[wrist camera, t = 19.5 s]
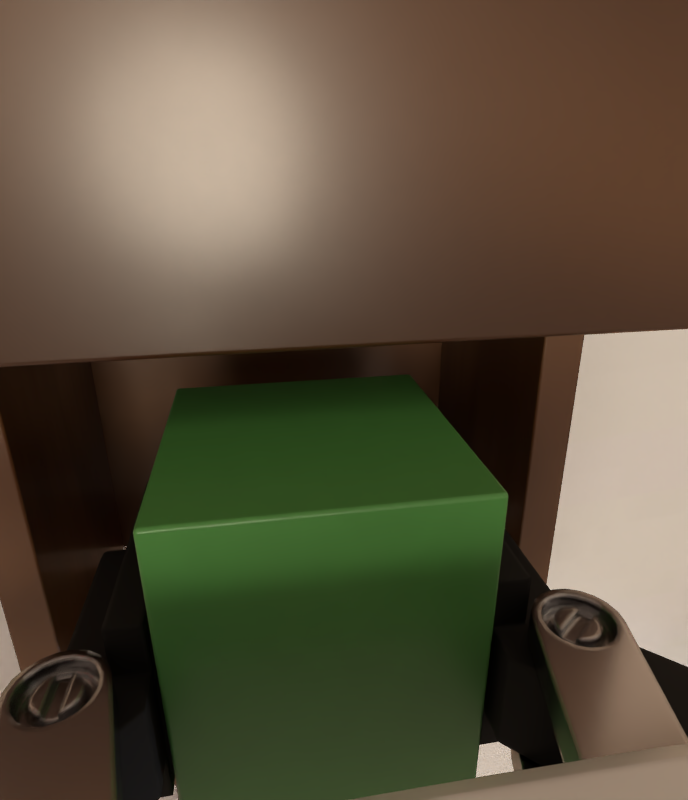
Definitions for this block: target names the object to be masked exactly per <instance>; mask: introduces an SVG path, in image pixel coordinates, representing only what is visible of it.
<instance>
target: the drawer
mask: <svg viewBox="0 0 688 800" xmlns="http://www.w3.org/2000/svg"><path fill="white" fill-rule="evenodd" d="M583 340H584V335H569V336H551V337H533V338H515V339H497V340H480V341H462V342H444V343H426V344H408V345H390V346H372V347H354V348H337V349H319V350H301V351H283V352H265V353H247V354H229V355H211V356H193V357H176V358H158V359H140V360H122V361H104V362H86V363H68V364H50V365H32V366H15V367H0V600H1V604H2V607H3V611H4V614H5V618H6V621H7V625H8V628H9V632H10V635H11V639H12V642H13V646H14V649H15V653H16V656H17V659H18V663H19V666H20V670H21V672H22V671H23V670H24V669H25V668H27V667H28V666H30V665H32V664H33V663H35V662H37V661H38V660H40V659H42V658H44V657H47V656H50V655H52V654H55V653H58V652H62V651H67V648H68V646H69V643H70V640H71V638H72V635H73V632H74V629H75V627H76V624H77V621H78V619H79V616H80V613H81V611H82V608H83V605H84V603H85V600H86V597H87V594H88V592H89V589H90V586H91V584H92V581H93V578H94V576H95V573H96V570H97V567H98V565H99V562H100V559H101V557H102V555H103V553H105V552H107V551H117V550H123V546H127V545H128V541H129V538H130V535H131V532H132V529H133V526H134V522H135V519H136V516H137V513H138V510H139V506H140V503H141V500H142V497H143V494H144V490H145V487H146V484H147V482H148V481H149V478H150V475H151V471H152V468H153V465H154V462H155V459H156V455H157V452H158V449H159V446H160V442H161V439H162V436H163V433H164V430H165V426H166V423H167V420H168V417H169V413H170V410H171V407H172V404H173V400H174V397H175V394H176V391H177V389H180V388H196V387H212V386H229V385H245V384H261V383H277V382H293V381H309V380H326V379H342V378H358V377H374V376H390V375H407V374H408V375H411V377H412V378H413V379H414V380H415V381H416V383H417V384H418V385H419V386H420V388H421V389H422V390H423V391H424V392H425V394H426V395H427V396H428V397H429V398H430V400H431V401H432V402H433V403H434V404H435V406H436V407H437V408H438V409H439V411H440V412H441V413H442V414H443V415H444V417H445V418H446V419H447V420H448V421H449V423H450V424H451V425H452V426H453V427H454V429H455V430H456V431H457V432H458V434H459V435H460V436H461V437H462V438H463V440H464V441H465V442H466V443H467V444H468V446H469V447H470V448H471V449H472V450H473V452H474V453H475V454H476V455H477V457H478V458H479V459H480V460H481V461H482V463H483V464H484V465H485V466H486V467H487V469H488V470H489V471H490V472H491V473H492V475H493V476H494V477H495V478H496V480H497V481H498V482H499V483H500V484H501V486H502V487H503V488H504V489H505V490H506V492H507V493H508V505H507V514H506V522H505V529H506V530H507V532H508V533H509V534H510V536H511V537H512V539H513V540H514V541H515V543H516V544H517V545H518V547H519V548H520V549H521V551H522V552H523V554H524V555H525V556H526V558H527V559H528V560H529V562H530V563H531V564H532V566H533V567H534V568H535V570H536V571H537V573H538V574H539V575H540V577H541V578H542V579H543V581H544V582H545V583H547V577H548V570H549V563H550V557H551V550H552V544H553V537H554V531H555V524H556V517H557V511H558V504H559V498H560V491H561V485H562V478H563V471H564V465H565V458H566V452H567V445H568V438H569V432H570V425H571V419H572V412H573V406H574V399H575V392H576V386H577V379H578V373H579V366H580V360H581V353H582V346H583ZM174 785H176V788H177V784H176V778H175V782H174ZM177 794H178V790H177ZM178 800H179V796H178Z"/></svg>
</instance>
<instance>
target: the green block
mask: <svg viewBox="0 0 688 800" xmlns="http://www.w3.org/2000/svg"><path fill="white" fill-rule="evenodd" d="M507 505H508V493H507V492H506V490H505V489H504V488H503V487H502V486H501V484H500V483H499V482H498V481H497V480H496V478H495V477H494V476H493V475H492V473H491V472H490V471H489V470H488V469H487V467H486V466H485V465H484V464H483V463H482V461H481V460H480V459H479V458H478V457H477V455H476V454H475V453H474V452H473V450H472V449H471V448H470V447H469V446H468V444H467V443H466V442H465V441H464V440H463V438H462V437H461V436H460V435H459V434H458V432H457V431H456V430H455V429H454V427H453V426H452V425H451V424H450V423H449V421H448V420H447V419H446V418H445V417H444V415H443V414H442V413H441V412H440V411H439V409H438V408H437V407H436V406H435V404H434V403H433V402H432V401H431V400H430V398H429V397H428V396H427V395H426V394H425V392H424V391H423V390H422V389H421V388H420V386H419V385H418V384H417V383H416V381H415V380H414V379H413V378H412V377H411V375H408V374H407V375H390V376H374V377H358V378H342V379H326V380H309V381H293V382H277V383H261V384H245V385H229V386H212V387H196V388H180V389H177V391H176V394H175V397H174V400H173V404H172V407H171V410H170V413H169V417H168V420H167V423H166V426H165V430H164V433H163V436H162V439H161V442H160V446H159V449H158V452H157V455H156V459H155V462H154V465H153V468H152V471H151V475H150V478H149V481H148V484H147V488H146V491H145V494H144V497H143V501H142V504H141V507H140V510H139V513H138V517H137V520H136V523H135V526H134V530H133V536H134V542H135V548H136V554H137V559H138V565H139V571H140V577H141V582H142V588H143V594H144V600H145V606H146V611H147V617H148V623H149V629H150V634H151V640H152V646H153V652H154V657H155V663H156V669H157V675H158V680H159V686H160V692H161V698H162V703H163V709H164V715H165V721H166V727H167V732H168V738H169V744H170V750H171V755H172V761H173V767H174V773H175V778H176V784H177V790H178V796H179V800H350V799H356V798H362V797H367V796H373V795H379V794H385V793H390V792H396V791H402V790H408V789H414V788H419V787H425V786H431V785H437V784H443V783H448V782H454V781H460V780H466V779H472V778H475V777H476V768H477V760H478V751H479V743H480V734H481V726H482V717H483V709H484V701H485V692H486V684H487V675H488V667H489V658H490V650H491V641H492V633H493V624H494V616H495V607H496V599H497V590H498V582H499V573H500V565H501V556H502V548H503V539H504V531H505V522H506V514H507Z"/></svg>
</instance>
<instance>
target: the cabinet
mask: <svg viewBox="0 0 688 800" xmlns="http://www.w3.org/2000/svg"><path fill="white" fill-rule="evenodd" d="M676 329H688V0H0V367H15V366H32V365H50V364H68V363H86V362H104V361H122V360H140V359H158V358H176V357H193V356H211V355H229V354H247V353H265V352H283V351H301V350H319V349H337V348H354V347H372V346H390V345H408V344H426V343H444V342H462V341H480V340H497V339H515V338H533V337H551V336H569V335H587V334H605V333H623V332H641V331H658V330H676Z"/></svg>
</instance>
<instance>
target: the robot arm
mask: <svg viewBox="0 0 688 800" xmlns="http://www.w3.org/2000/svg"><path fill="white" fill-rule="evenodd" d="M147 484H148V482H147ZM147 484H146V487H145V490H144V494H145V491H146V488H147ZM144 494H143V497H144ZM143 497H142V500H141V503H140V506H139V510H140V507H141V504H142V501H143ZM139 510H138V513H139ZM138 513H137V516H136V519H135V522H134V526H135V523H136V520H137V517H138ZM134 526H133V529H132V532H131V535H130V538H129V541H128V545H127V548H126V550H117V551H107V552H105V553H103V555H102V557H101V559H100V562H99V565H98V567H97V570H96V573H95V576H94V578H93V581H92V584H91V586H90V589H89V592H88V594H87V597H86V600H85V603H84V605H83V608H82V611H81V613H80V616H79V619H78V621H77V624H76V627H75V629H74V632H73V635H72V638H71V640H70V643H69V646H68V648H67V651H62V652H58V653H55V654H52V655H50V656H47V657H44V658H42V659H40V660H38V661H37V662H35V663H33V664H32V665H30V666H28V667H27V668H25V669H24V670H23V671H22V672H21V673H19V674H18V675H17V676H16V677H15V678H14V679H12V681H11V682H10V683H9V685H8V686H7V687H6V689H5V690H4V691H3V693H2V694H1V697H0V800H158V799H159V798H160V797H165V796H171V795H173V791H174V782H175V773H174V767H173V761H172V755H171V750H170V744H169V738H168V732H167V727H166V721H165V715H164V709H163V703H162V698H161V692H160V686H159V680H158V675H157V669H156V663H155V657H154V652H153V646H152V640H151V634H150V629H149V623H148V617H147V611H146V606H145V600H144V594H143V588H142V582H141V577H140V571H139V565H138V559H137V554H136V548H135V542H134V536H133V530H134ZM492 742H500V743H502V744H504V745H505V746H507V747H509V748H511V759H512V764H513V768H514V771H513V772H507V773H501V774H495V775H489V776H483V777H477V778H472V779H466V780H460V781H454V782H448V783H443V784H437V785H431V786H425V787H419V788H414V789H408V790H402V791H396V792H390V793H385V794H379V795H373V796H367V797H362V798H356V799H350V800H688V667H686V666H684V665H681V664H679V663H676V662H674V661H672V660H669V659H667V658H664V657H662V656H659V655H657V654H655V653H652V652H650V651H647V650H645V649H642V648H640V647H639V646H638V644H637V642H636V641H635V639H634V637H633V635H632V633H631V631H630V629H629V628H628V626H627V624H626V622H625V621H624V619H623V618H622V617H621V615H620V614H619V613H618V611H616V610H615V609H614V608H613V607H612V606H610V605H609V604H608V603H607V602H605V601H603V600H601V599H599V598H597V597H595V596H593V595H590V594H587V593H584V592H581V591H577V590H570V589H557V590H550V589H549V588H548V586H547V585H546V583H545V582H544V581H543V579H542V578H541V577H540V575H539V574H538V573H537V571H536V570H535V568H534V567H533V566H532V564H531V563H530V562H529V560H528V559H527V558H526V556H525V555H524V554H523V552H522V551H521V549H520V548H519V547H518V545H517V544H516V543H515V541H514V540H513V539H512V537H511V536H510V534H509V533H508V532H507V530H506V529H505V531H504V539H503V548H502V556H501V565H500V573H499V582H498V590H497V599H496V607H495V616H494V624H493V633H492V641H491V650H490V658H489V667H488V675H487V684H486V692H485V701H484V709H483V717H482V726H481V734H480V743H479V745H480V744H486V743H492Z"/></svg>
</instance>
